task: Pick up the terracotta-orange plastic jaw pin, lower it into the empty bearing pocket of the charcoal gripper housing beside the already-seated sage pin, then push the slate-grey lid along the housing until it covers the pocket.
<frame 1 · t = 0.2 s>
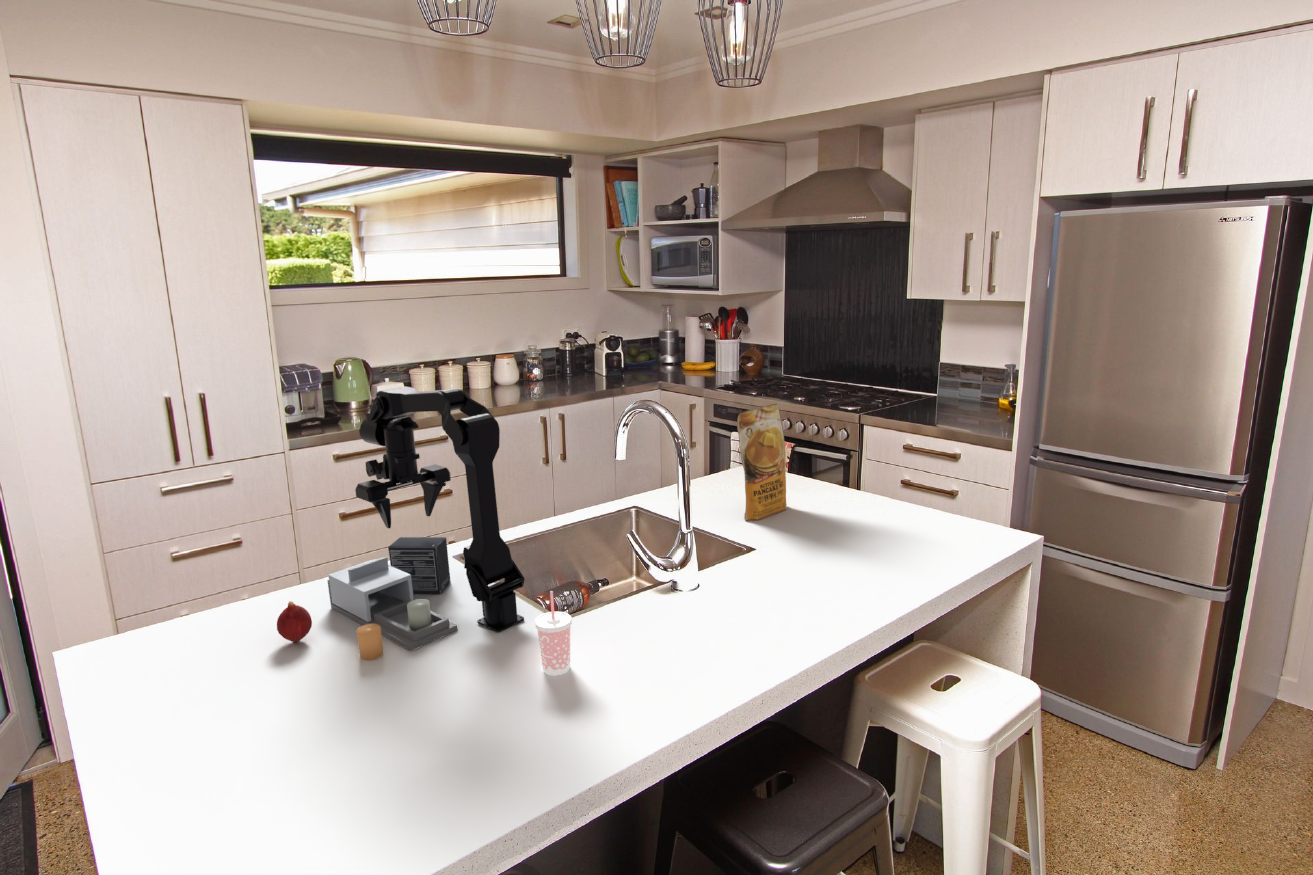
hand: (408, 521, 164), 14 cm above the counter, fingers open, 9 cm apart
lid: (370, 583, 156), point 6 cm above the counter, slide at 13.6 cm
housing: (392, 618, 153), on the counter
onion: (297, 642, 145), on the counter
beverage cup: (556, 669, 133), on the counter
small box: (422, 588, 167), on the counter
pancake mix bag: (763, 513, 207), on the counter
jaw pin: (371, 654, 140), on the counter
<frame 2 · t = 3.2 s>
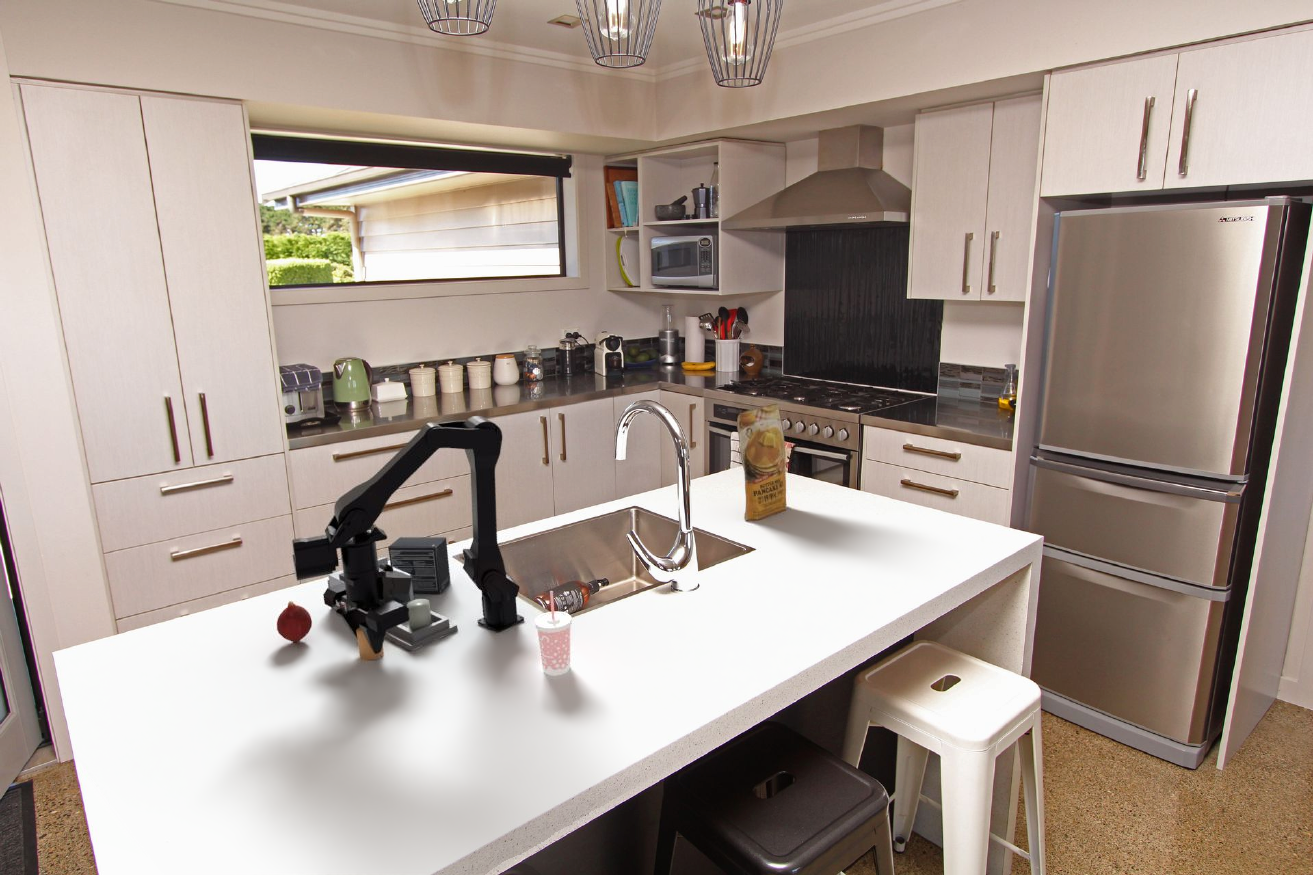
hand: (371, 649, 139), 1 cm above the counter, fingers closed on jaw pin, 4 cm apart
jaw pin: (371, 654, 140), on the counter, touching gripper
everything else where it was.
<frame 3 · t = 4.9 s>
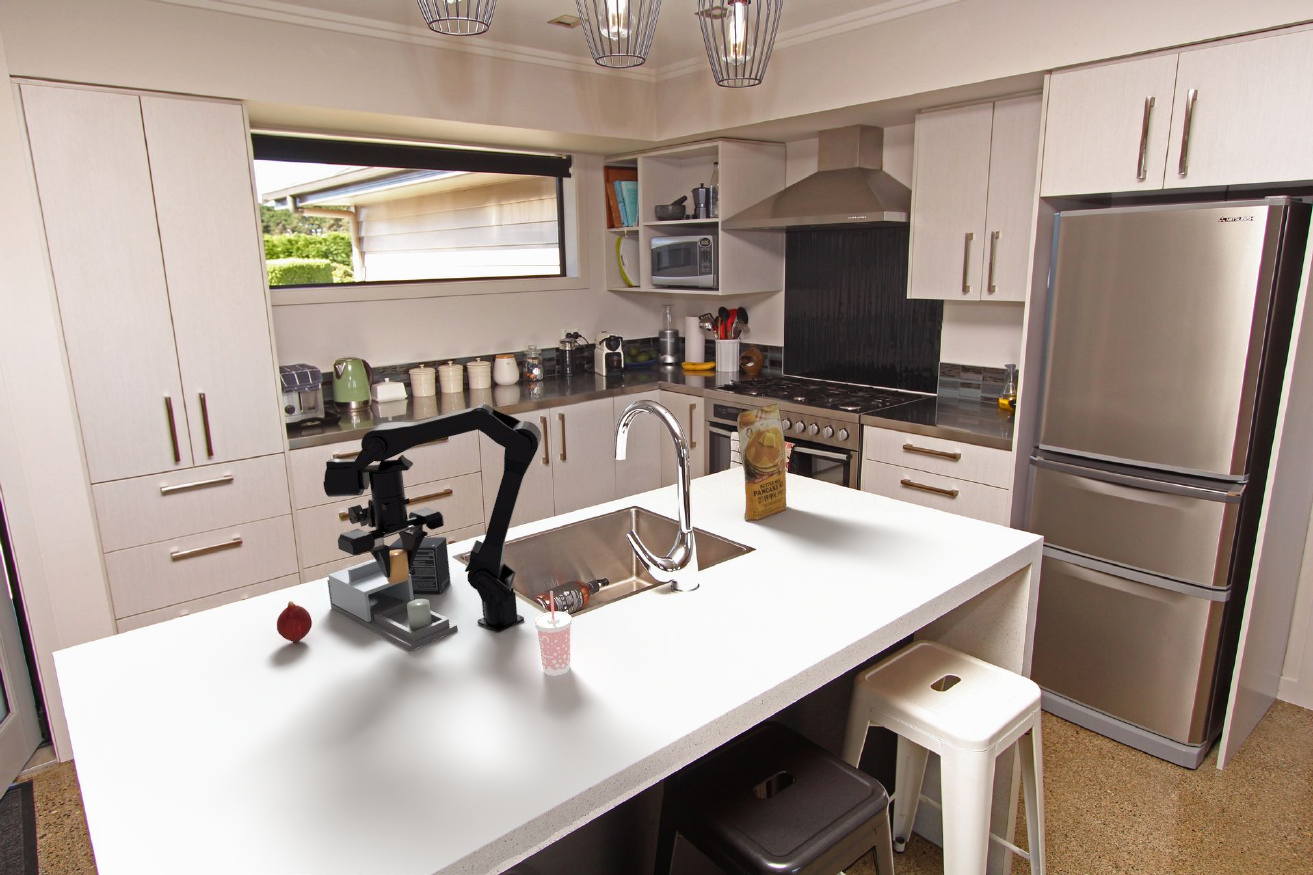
hand: (397, 573, 147), 11 cm above the counter, fingers closed on jaw pin, 4 cm apart
jaw pin: (398, 578, 147), point 10 cm above the counter, touching gripper
everything else where it was.
when the fingers open (3 cm above the counter, at t = 6.7 s): jaw pin stays where it is, resting on housing.
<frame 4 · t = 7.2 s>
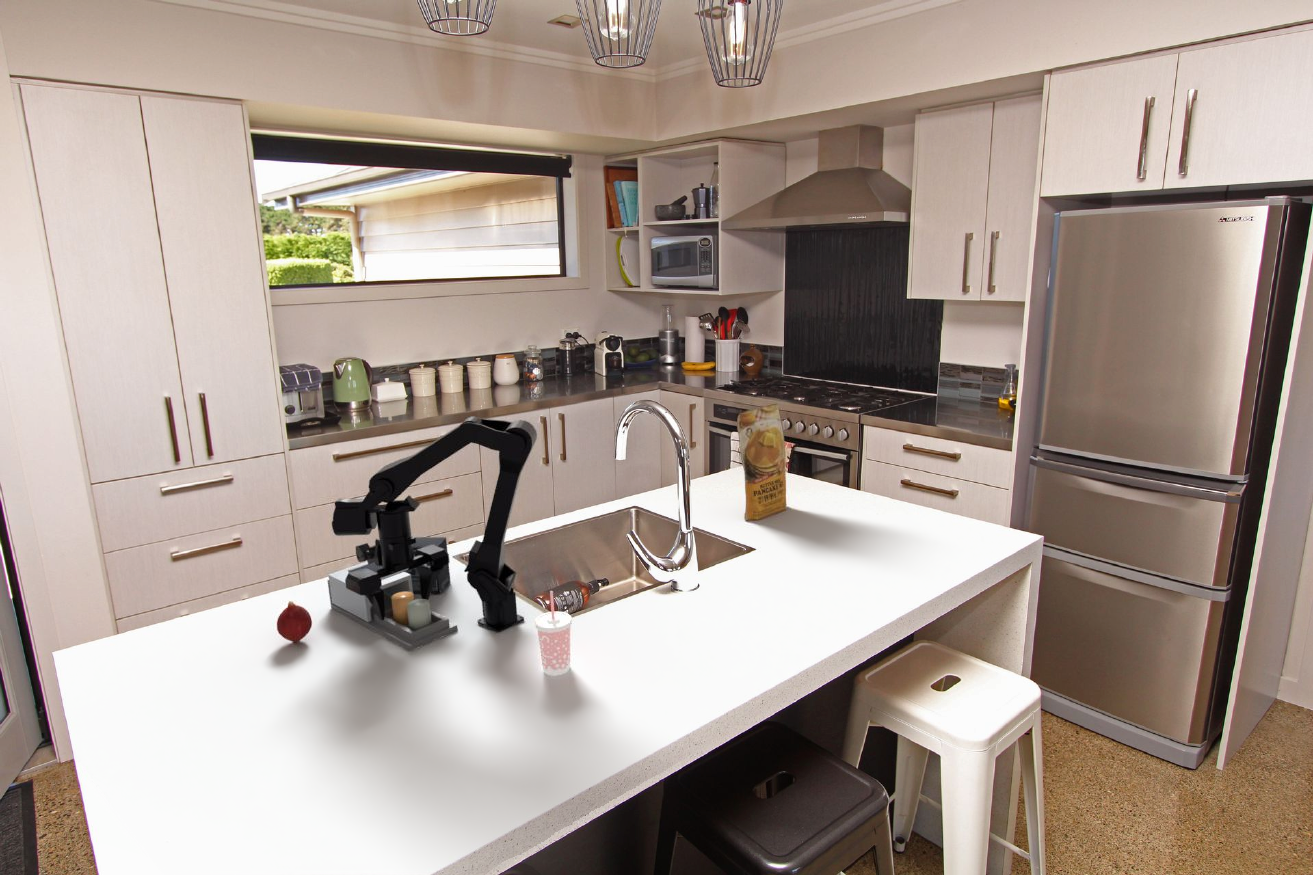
hand: (403, 610, 150), 3 cm above the counter, fingers open, 9 cm apart
jaw pin: (405, 620, 150), point 1 cm above the counter, touching housing
everything else where it was.
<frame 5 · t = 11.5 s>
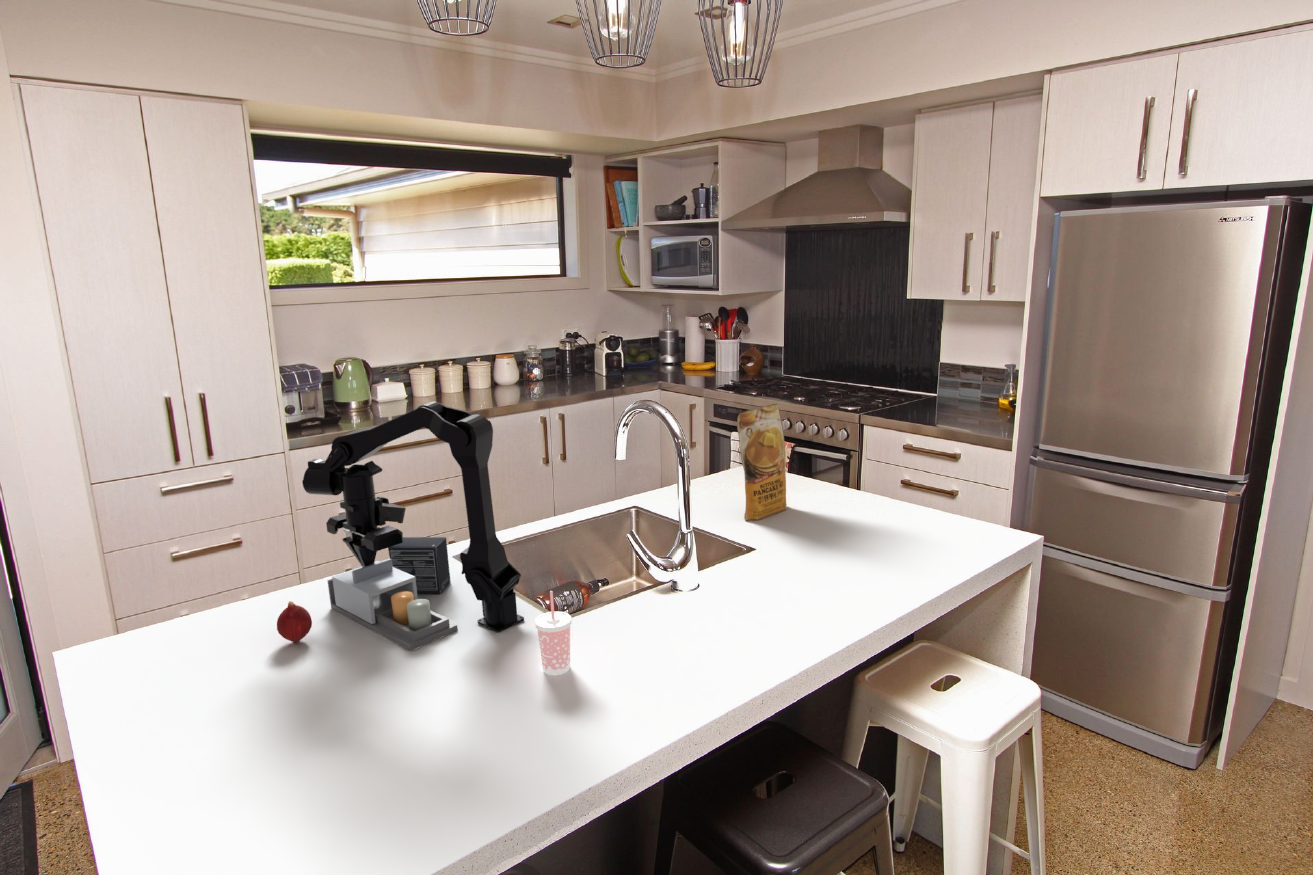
hand: (369, 571, 156), 8 cm above the counter, fingers closed
lid: (374, 585, 155), point 6 cm above the counter, slide at 12.1 cm, touching gripper
everything else where it was.
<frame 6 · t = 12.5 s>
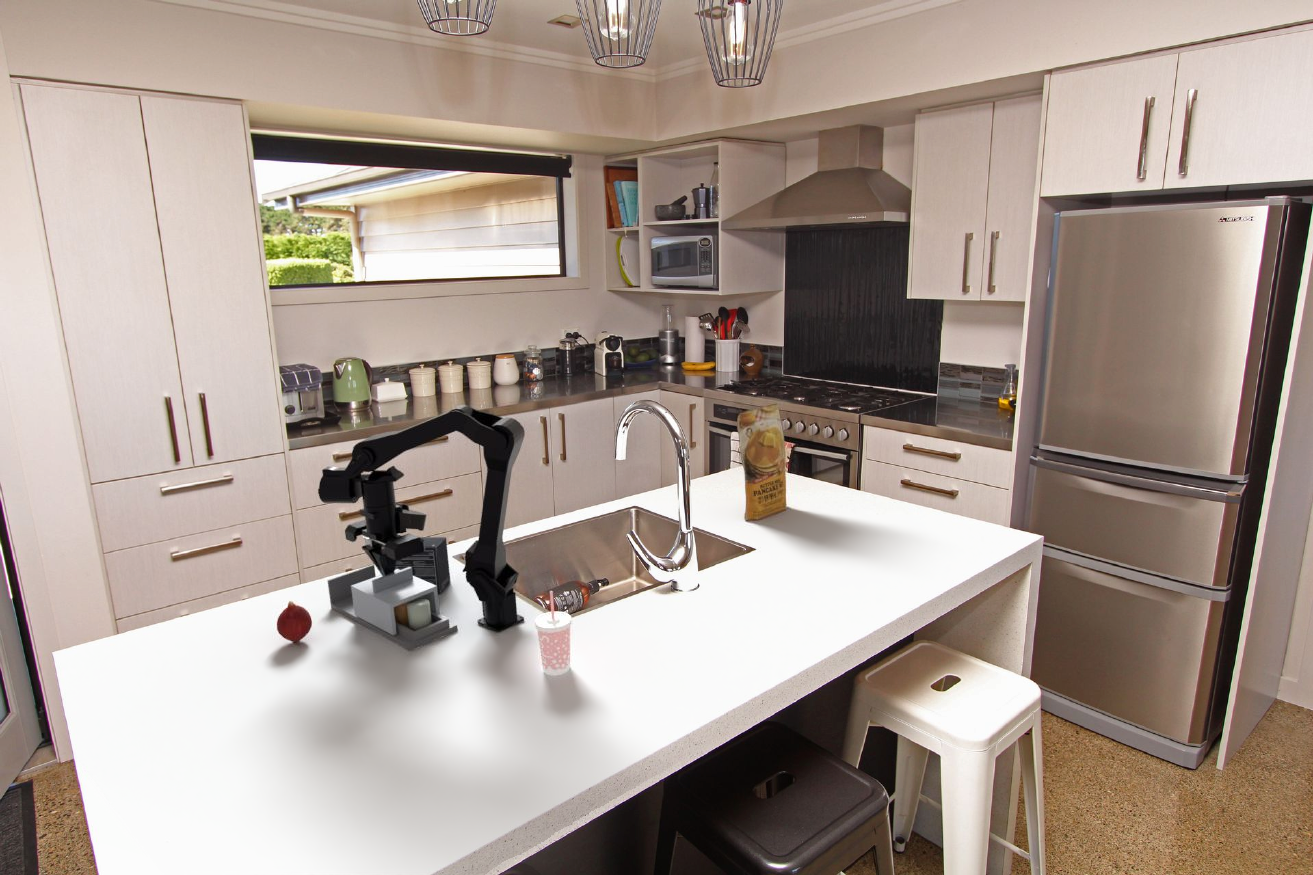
hand: (389, 580, 151), 8 cm above the counter, fingers closed
lid: (394, 594, 151), point 6 cm above the counter, slide at 4.9 cm, touching gripper
everything else where it was.
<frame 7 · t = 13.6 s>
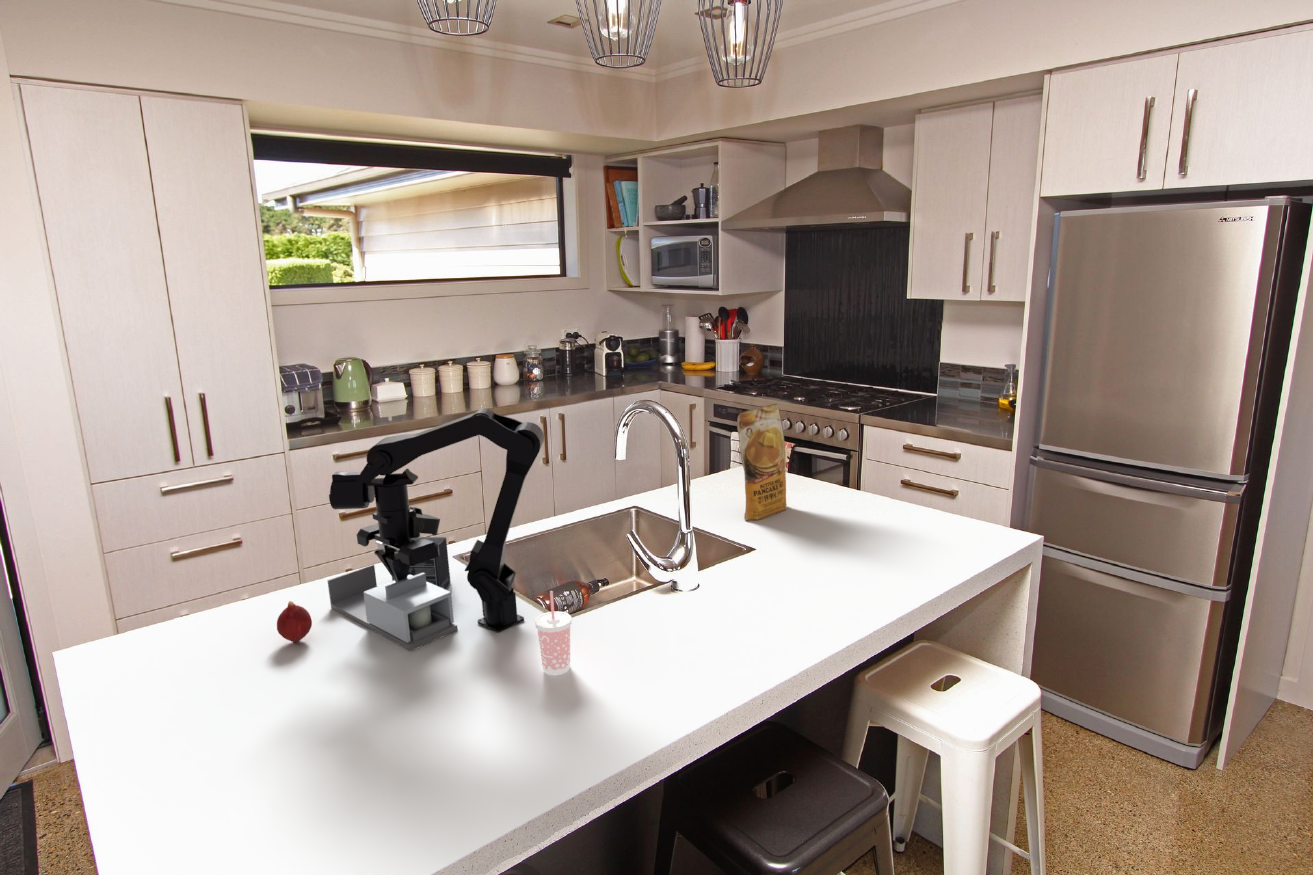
hand: (401, 585, 148), 8 cm above the counter, fingers closed
lid: (408, 600, 148), point 6 cm above the counter, slide at 0.4 cm, touching gripper
everything else where it was.
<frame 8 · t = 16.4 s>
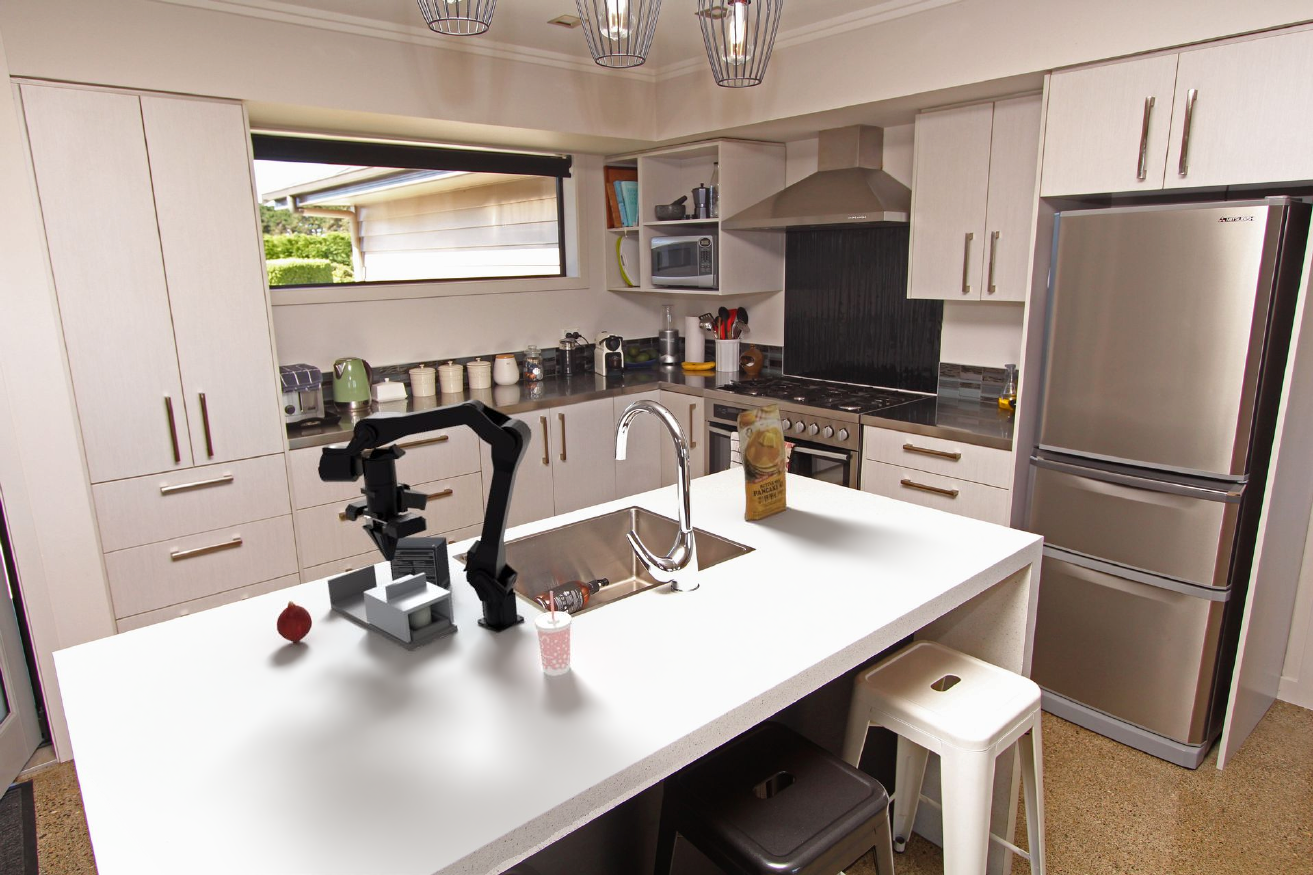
hand: (389, 560, 149), 12 cm above the counter, fingers closed
lid: (408, 600, 148), point 6 cm above the counter, slide at 0.3 cm
everything else where it was.
at the end: jaw pin 0.1 cm from the target spot on the housing, point 1.0 cm above the housing's base; jaw pin tilted 1°; lid slide at 0.3 cm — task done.
